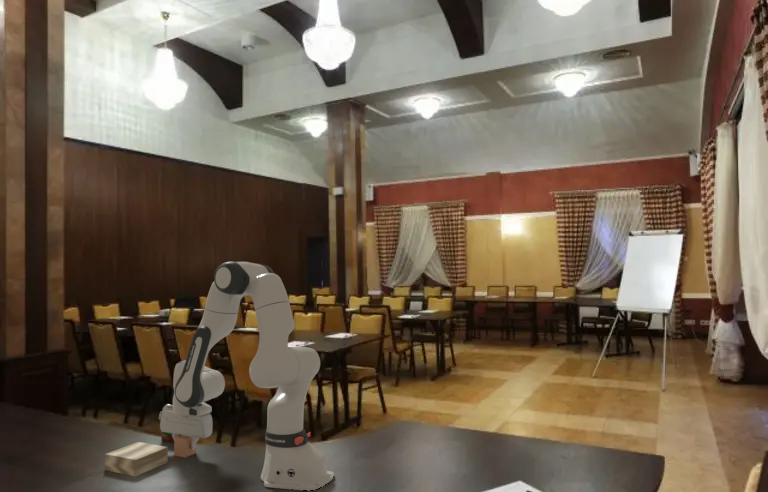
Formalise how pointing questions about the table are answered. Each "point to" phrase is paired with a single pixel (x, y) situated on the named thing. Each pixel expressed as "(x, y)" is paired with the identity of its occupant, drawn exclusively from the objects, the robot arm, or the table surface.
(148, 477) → the table surface
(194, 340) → the robot arm
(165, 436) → the food container
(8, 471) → the table surface
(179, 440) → the terracotta block
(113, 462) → the birch plinth
